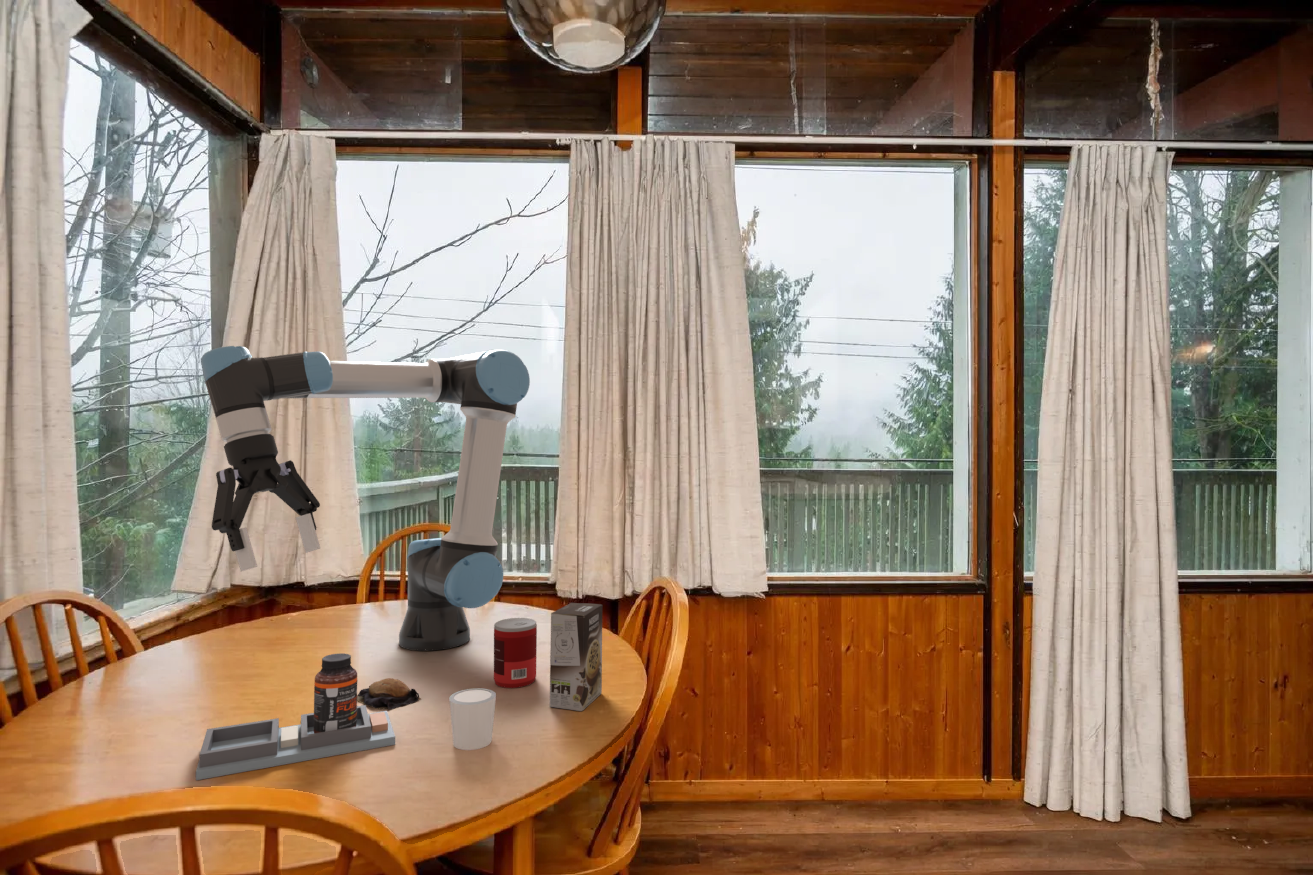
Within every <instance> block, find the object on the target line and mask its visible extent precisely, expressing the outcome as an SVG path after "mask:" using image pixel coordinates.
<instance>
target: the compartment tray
mask: <svg viewBox="0 0 1313 875" xmlns="http://www.w3.org/2000/svg"><path fill="white" fill-rule="evenodd" d="M279 719H280V718H279V717H278V718H273V719H272V718H271V719H265V720H258V721H251V722H244V723H238V724H231V725H223V726H219V727H211V728H207V729H206V732H205V735H204V738H203V742H202V746H201V749H200V751H199V756H198V757H199V758H198V759H199V760H198V763H197V765H196V766H197V767H196V770H195V781H199V780H204V779H205V780H206V779H212V778H216V777H217V778H218V777H221V776H227V775H235V774H239V773H244V772H250V771H257V770H261V769H267V768H271V767H279V766H283V765H290V764H294V763H300V762H305V761H310V760H317V759H322V758H327V757H328V758H329V757H334V756H338V755H339V756H340V755H345V754H349V753H356V752H362V751H366V750H367V751H368V750H372V749H379V748H384V747H389V746H395V745H396V735H395V731H394V729H393V726H392V725H393V724H392V723H391V719H390V717H389V713H388V711H387V710H382V711H377V712H371V713H368V709H367V705H365V704H363V705H357V722H356V727H350V728H344V729H338V730H332V731H326V732H320V733H314V712H310V713H304V714H301V715H300V724H294V725H289V726H283V727H279V726H280V724H279V723H280V720H279Z"/></svg>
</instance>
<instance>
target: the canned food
mask: <svg viewBox="0 0 1313 875" xmlns="http://www.w3.org/2000/svg"><path fill="white" fill-rule="evenodd" d="M537 625H538V624H537V621H536V620H535V619H532V618H527V617H511V618H505V619H504V618H503V619H501V620H498V621H496V622H495V623H494V625H493V626H494V627H493V680H494V684H495V685H496V686H498V687H500V688H504V689H505V688H506V689H517V688H523V687H527V686H530V685H532V684H533V683H534V682H535V681H536V677H537V646H538V645H537V642H538V641H537V640H538V639H537V638H538V637H537V635H538V633H537V632H538V629H537V627H538V626H537Z"/></svg>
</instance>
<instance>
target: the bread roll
mask: <svg viewBox="0 0 1313 875" xmlns="http://www.w3.org/2000/svg"><path fill="white" fill-rule="evenodd" d="M421 700H422V698H421V697H420V695H419V693H418V692H417V690H416V689H415V688H410V687H409V686H408V685H407V684H406V683H404V682H403V681H402V680H401V679H398V678H392V677H387V678H383V679H380V680H378V681H375V682H372V683H371V684H370V685H369V686H368V687H367V688H362V689H360V690H359V692H358V693H357V703H360V704H363V705H366V707H370V708H373V709H376V710H388V711H392V710H395V709H399V708H402V707H404V706H409V705H412V704H414V703H417V702H418V701H421Z"/></svg>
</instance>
